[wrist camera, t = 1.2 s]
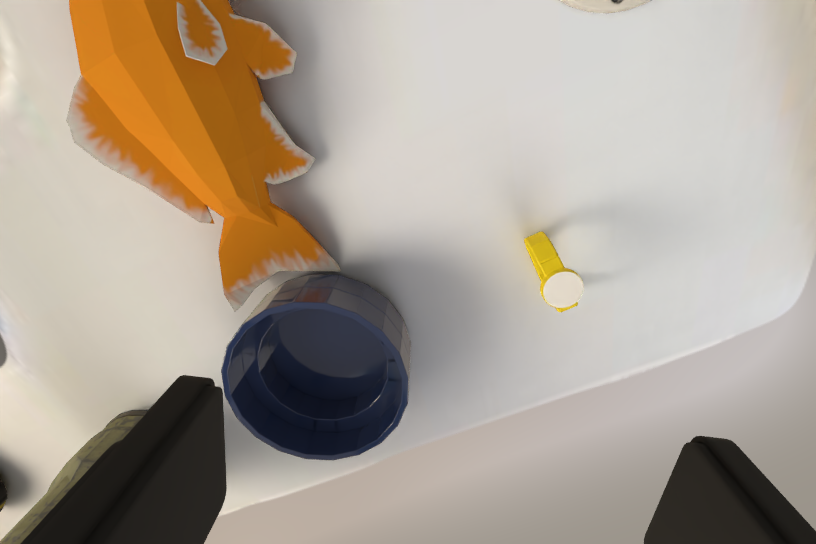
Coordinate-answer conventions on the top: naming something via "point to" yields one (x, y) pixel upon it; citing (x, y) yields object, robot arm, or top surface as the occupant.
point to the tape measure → (2, 495)
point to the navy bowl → (320, 368)
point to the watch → (553, 274)
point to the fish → (195, 123)
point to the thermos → (74, 473)
